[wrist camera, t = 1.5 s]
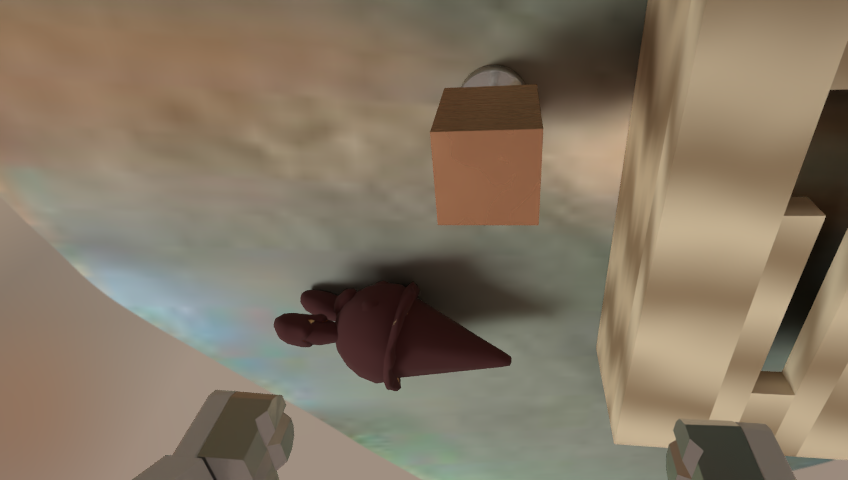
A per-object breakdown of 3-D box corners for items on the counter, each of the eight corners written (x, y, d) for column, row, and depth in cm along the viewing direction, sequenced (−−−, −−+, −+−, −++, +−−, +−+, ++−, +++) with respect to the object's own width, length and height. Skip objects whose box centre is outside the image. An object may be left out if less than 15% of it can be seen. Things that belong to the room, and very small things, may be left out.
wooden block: (452, 62, 26) (430, 132, 18) (533, 58, 25) (543, 128, 18) (456, 136, 28) (438, 225, 21) (530, 134, 27) (538, 225, 20)
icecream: (524, 340, 27) (265, 279, 29) (496, 446, 30) (260, 384, 32) (524, 286, 34) (313, 240, 36) (502, 378, 36) (305, 330, 38)
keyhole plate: (654, -42, 22) (710, -15, 16) (1035, -72, 20) (1272, -54, 14) (596, 348, 35) (614, 444, 29) (818, 357, 33) (888, 462, 27)
